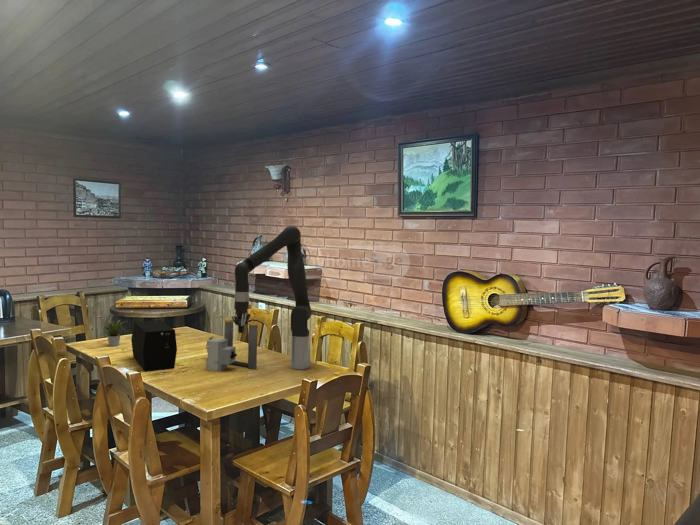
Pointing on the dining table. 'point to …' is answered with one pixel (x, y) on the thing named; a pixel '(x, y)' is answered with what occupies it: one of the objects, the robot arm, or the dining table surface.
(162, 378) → the dining table surface
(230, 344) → the far cord post
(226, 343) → the circuit breaker
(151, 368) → the uninterruptible power supply
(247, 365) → the floor cable
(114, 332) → the house plant
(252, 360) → the post
